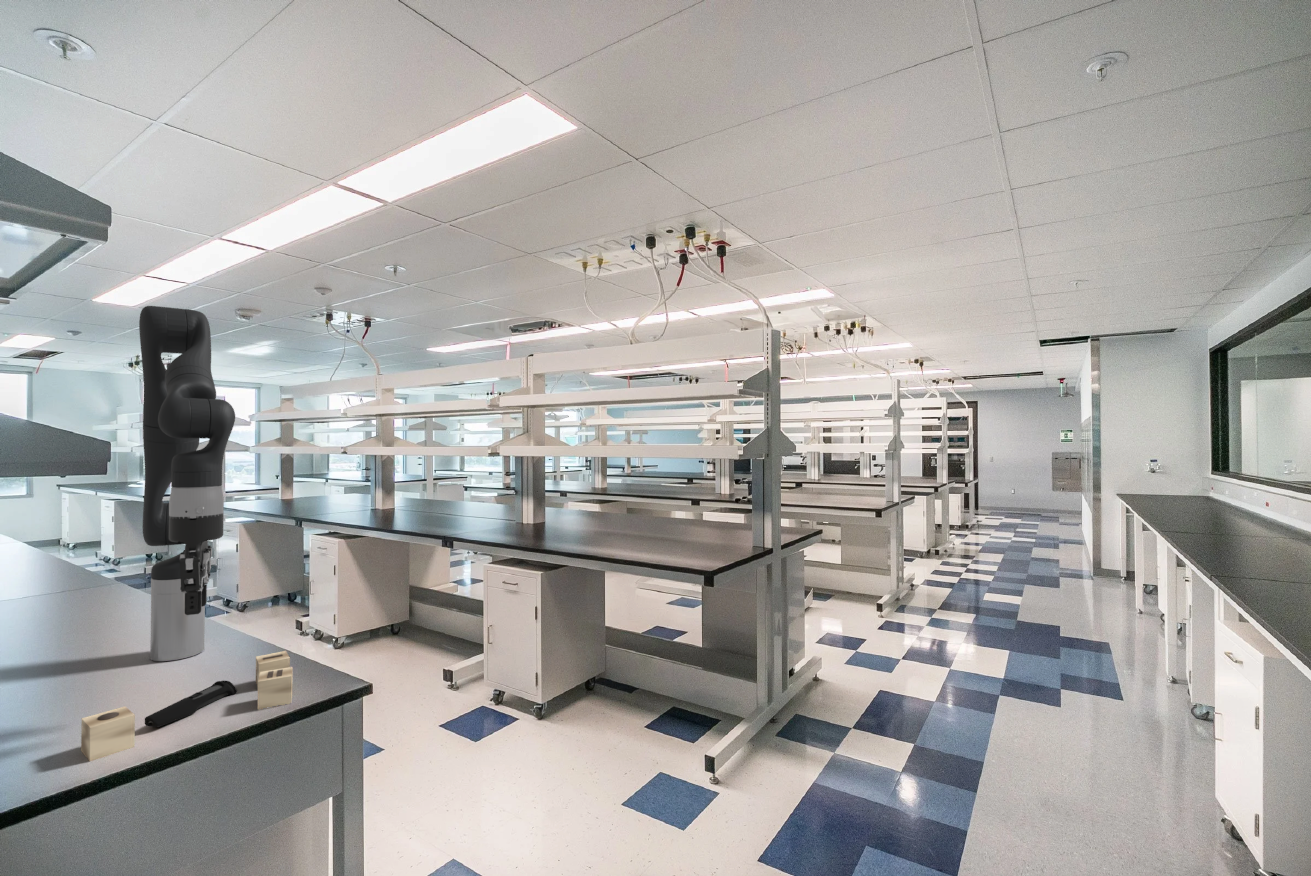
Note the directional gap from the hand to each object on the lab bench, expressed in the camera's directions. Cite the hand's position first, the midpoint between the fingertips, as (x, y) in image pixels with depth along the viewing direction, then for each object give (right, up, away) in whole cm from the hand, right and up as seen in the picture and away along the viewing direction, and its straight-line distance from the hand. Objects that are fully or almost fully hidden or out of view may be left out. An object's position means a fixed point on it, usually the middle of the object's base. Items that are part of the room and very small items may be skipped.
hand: (195, 609), depth 102 cm
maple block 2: (+6, -18, +11) cm, 22 cm away
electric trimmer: (0, -18, 0) cm, 18 cm away
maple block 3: (+12, -18, +3) cm, 21 cm away
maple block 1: (-3, -17, -13) cm, 22 cm away
